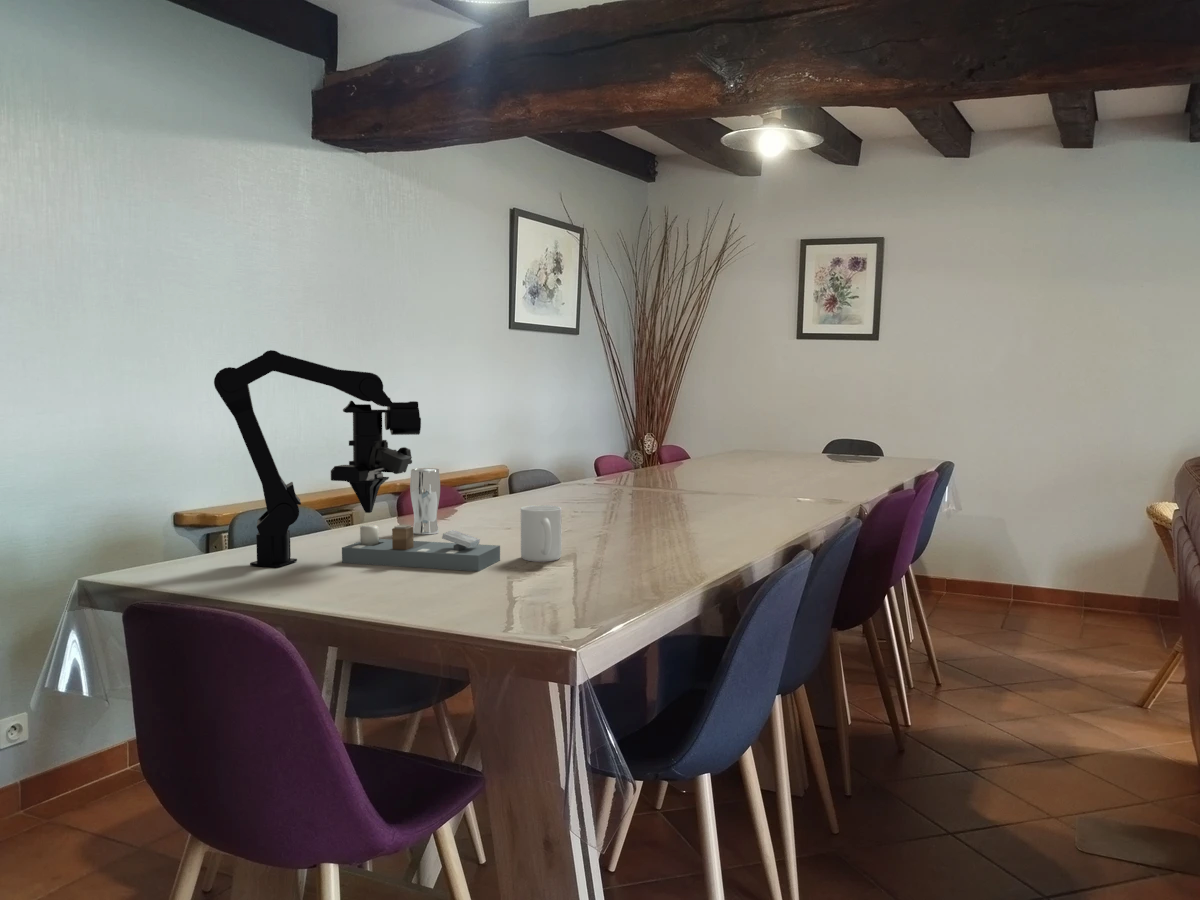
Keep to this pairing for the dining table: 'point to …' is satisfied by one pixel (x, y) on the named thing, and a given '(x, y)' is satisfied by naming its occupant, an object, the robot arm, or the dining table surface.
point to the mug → (541, 533)
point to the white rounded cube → (369, 535)
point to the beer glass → (425, 500)
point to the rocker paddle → (460, 538)
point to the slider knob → (402, 537)
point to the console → (424, 555)
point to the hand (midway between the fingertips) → (368, 512)
